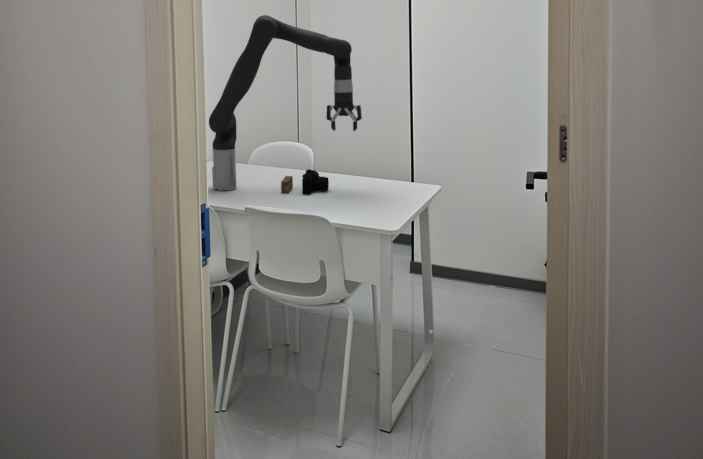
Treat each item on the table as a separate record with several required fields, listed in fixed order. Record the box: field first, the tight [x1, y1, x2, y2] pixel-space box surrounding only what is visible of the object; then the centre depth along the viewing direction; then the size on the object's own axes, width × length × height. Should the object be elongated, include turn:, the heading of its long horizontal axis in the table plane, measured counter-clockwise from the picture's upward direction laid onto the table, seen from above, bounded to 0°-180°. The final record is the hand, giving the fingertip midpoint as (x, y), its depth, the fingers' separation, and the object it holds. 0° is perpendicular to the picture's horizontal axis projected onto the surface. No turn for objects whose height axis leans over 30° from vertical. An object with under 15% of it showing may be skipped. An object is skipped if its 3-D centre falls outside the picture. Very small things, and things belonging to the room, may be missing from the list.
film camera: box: [301, 169, 330, 196], centre depth 308 cm, size 15×10×9 cm, turn 168°
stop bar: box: [280, 175, 294, 195], centre depth 309 cm, size 3×11×5 cm, turn 175°
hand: (344, 130), depth 303 cm, fingers open, 8 cm apart
